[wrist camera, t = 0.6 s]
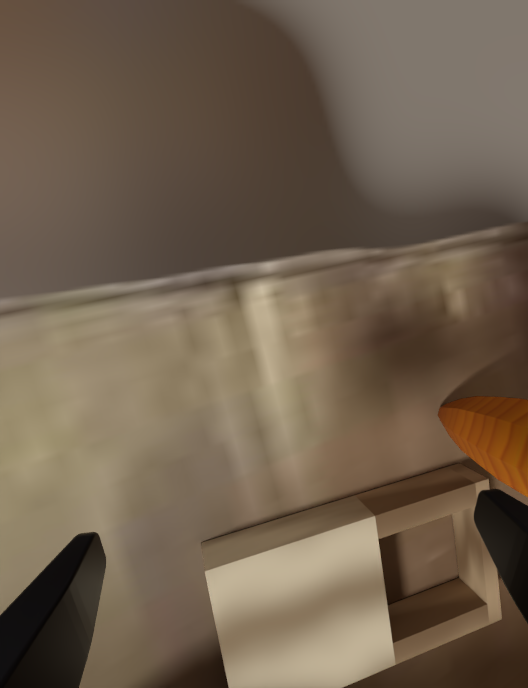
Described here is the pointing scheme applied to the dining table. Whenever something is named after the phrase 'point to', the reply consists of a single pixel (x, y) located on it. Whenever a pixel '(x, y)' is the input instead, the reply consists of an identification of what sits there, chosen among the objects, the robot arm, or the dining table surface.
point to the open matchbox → (345, 586)
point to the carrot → (492, 435)
